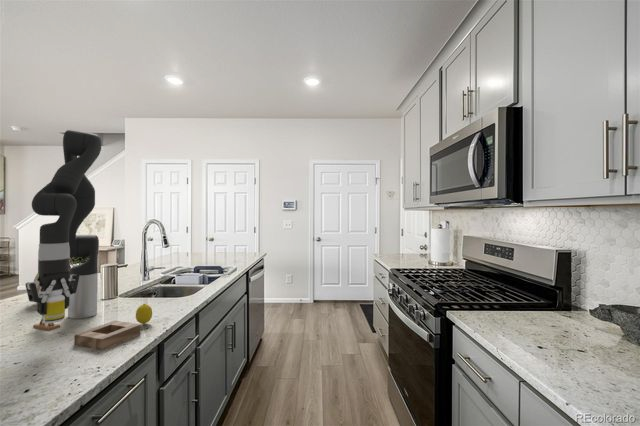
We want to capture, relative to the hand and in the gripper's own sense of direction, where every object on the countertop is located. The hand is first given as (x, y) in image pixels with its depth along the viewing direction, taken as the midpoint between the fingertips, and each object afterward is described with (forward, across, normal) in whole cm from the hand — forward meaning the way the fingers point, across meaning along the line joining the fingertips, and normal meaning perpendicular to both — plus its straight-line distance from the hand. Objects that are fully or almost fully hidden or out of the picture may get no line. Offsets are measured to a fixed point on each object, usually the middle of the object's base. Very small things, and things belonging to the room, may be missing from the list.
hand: (53, 311), depth 98 cm
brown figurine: (+12, -12, -22) cm, 28 cm away
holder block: (+12, -11, +10) cm, 19 cm away
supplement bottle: (+3, 0, 0) cm, 3 cm away
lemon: (+12, -26, +8) cm, 30 cm away
